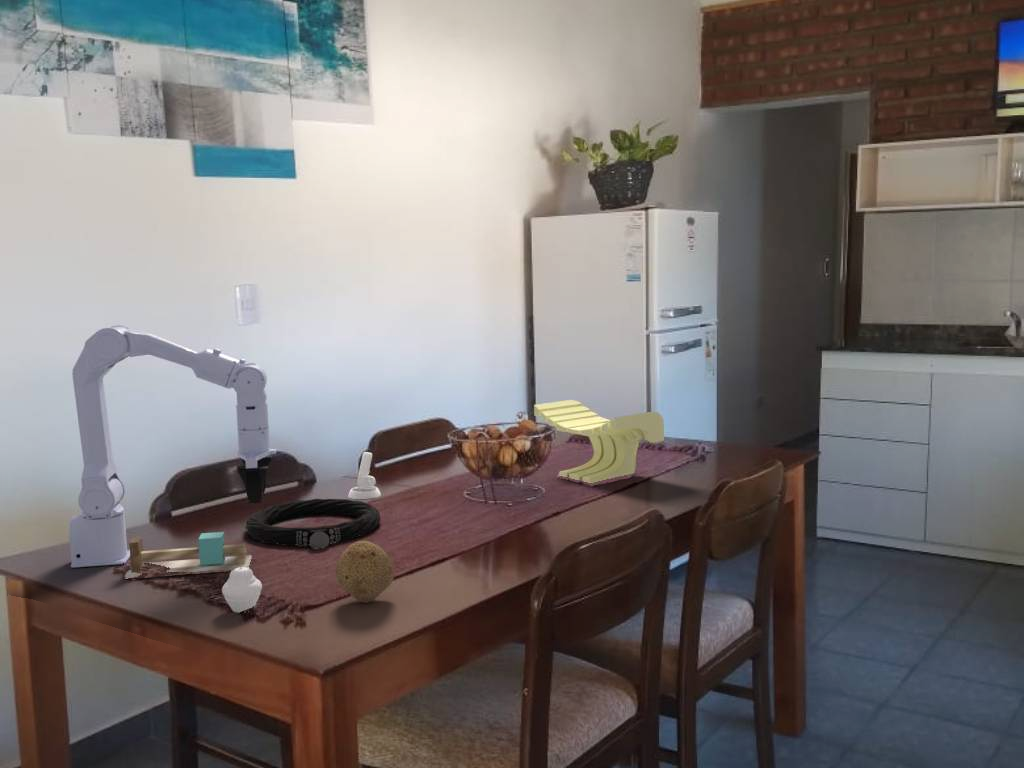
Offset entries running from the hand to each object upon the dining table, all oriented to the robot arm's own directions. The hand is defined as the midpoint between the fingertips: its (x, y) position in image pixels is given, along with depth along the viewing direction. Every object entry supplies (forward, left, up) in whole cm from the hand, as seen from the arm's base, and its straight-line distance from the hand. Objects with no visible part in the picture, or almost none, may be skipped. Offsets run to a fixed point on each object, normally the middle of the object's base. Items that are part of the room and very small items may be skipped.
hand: (257, 498), depth 186 cm
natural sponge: (+19, -35, -10) cm, 41 cm away
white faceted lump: (0, -34, -10) cm, 36 cm away
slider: (-8, -10, -9) cm, 15 cm away
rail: (-11, -10, -10) cm, 18 cm away
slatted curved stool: (+79, +43, -10) cm, 91 cm away
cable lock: (+10, +12, -11) cm, 19 cm away
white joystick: (+21, +40, -10) cm, 46 cm away
